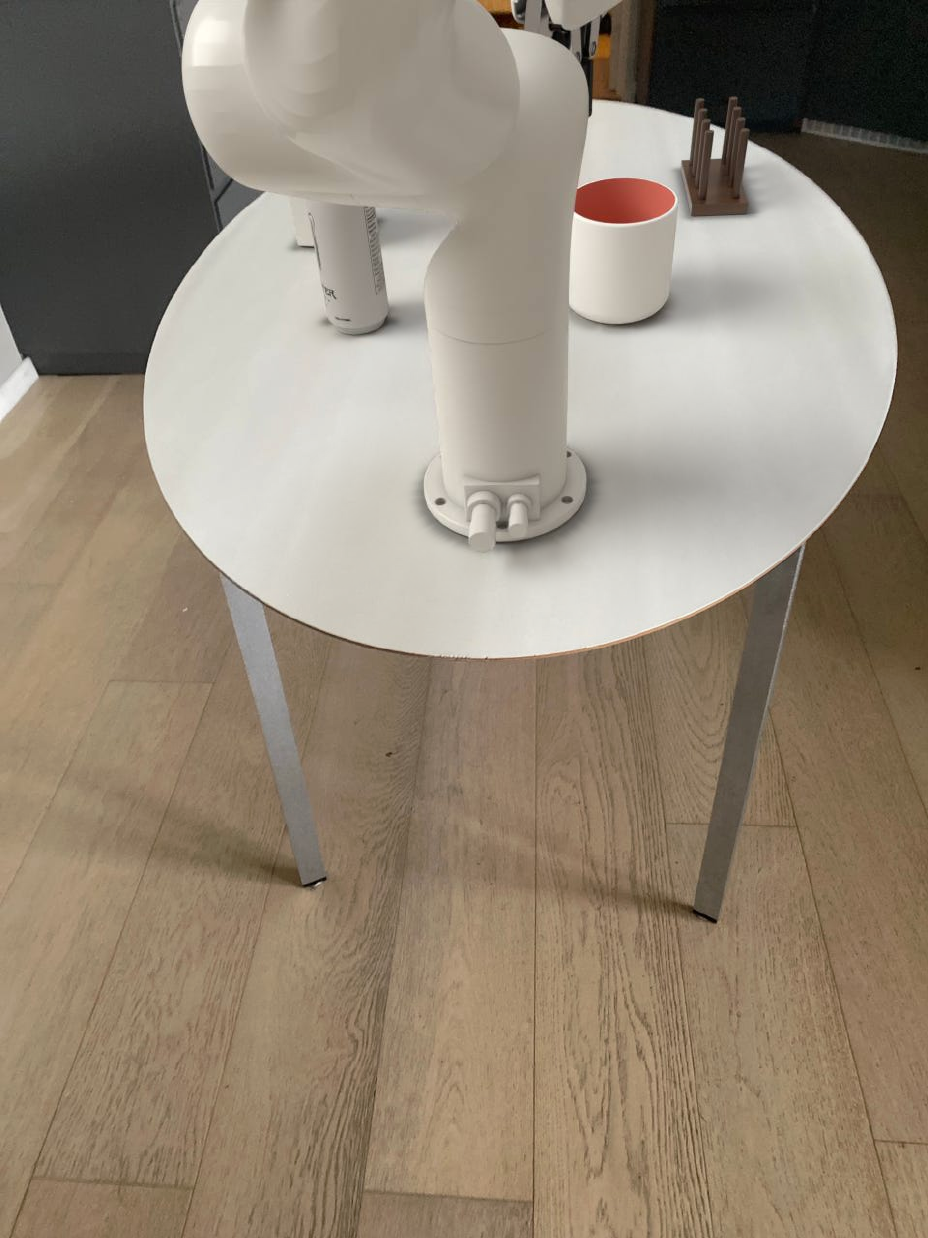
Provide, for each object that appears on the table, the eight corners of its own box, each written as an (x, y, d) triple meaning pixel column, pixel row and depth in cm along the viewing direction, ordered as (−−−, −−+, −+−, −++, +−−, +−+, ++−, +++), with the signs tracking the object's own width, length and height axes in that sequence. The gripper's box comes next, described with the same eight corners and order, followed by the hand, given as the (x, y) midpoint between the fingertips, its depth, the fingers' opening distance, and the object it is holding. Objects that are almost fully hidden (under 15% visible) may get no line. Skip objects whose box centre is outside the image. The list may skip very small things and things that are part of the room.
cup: (548, 319, 91) (548, 216, 84) (585, 270, 97) (588, 170, 90) (649, 337, 88) (658, 232, 80) (681, 286, 94) (692, 183, 86)
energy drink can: (329, 309, 95) (300, 154, 84) (388, 302, 95) (367, 146, 84) (329, 340, 91) (298, 182, 80) (391, 333, 91) (369, 174, 80)
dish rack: (747, 213, 103) (759, 134, 97) (690, 215, 104) (699, 137, 98) (732, 168, 111) (742, 92, 105) (680, 170, 112) (687, 94, 106)
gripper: (563, -170, 53) (561, 164, 67) (680, -217, 61) (657, 91, 75) (454, -174, 57) (473, 146, 70) (579, -217, 64) (574, 78, 78)
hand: (568, 117), depth 72 cm, fingers closed
